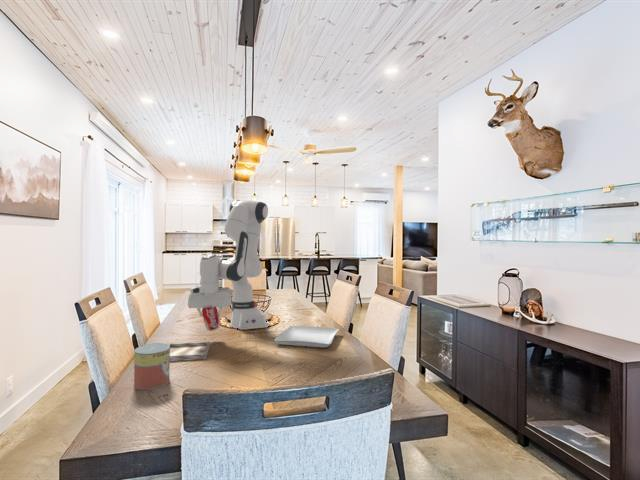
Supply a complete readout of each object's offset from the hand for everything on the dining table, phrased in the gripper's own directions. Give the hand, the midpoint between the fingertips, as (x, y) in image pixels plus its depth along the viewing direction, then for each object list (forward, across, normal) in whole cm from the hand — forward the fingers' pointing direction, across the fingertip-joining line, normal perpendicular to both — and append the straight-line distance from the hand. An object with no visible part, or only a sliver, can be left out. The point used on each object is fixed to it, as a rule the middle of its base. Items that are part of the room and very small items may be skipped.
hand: (210, 316), depth 172 cm
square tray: (+11, +8, +18) cm, 23 cm away
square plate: (+14, -47, +8) cm, 50 cm away
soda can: (+7, -2, 0) cm, 7 cm away
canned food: (+11, +15, +48) cm, 52 cm away
